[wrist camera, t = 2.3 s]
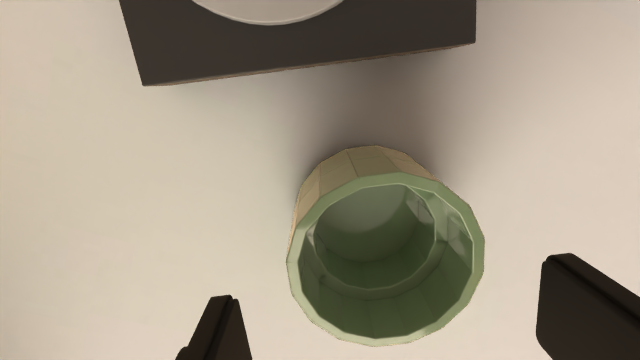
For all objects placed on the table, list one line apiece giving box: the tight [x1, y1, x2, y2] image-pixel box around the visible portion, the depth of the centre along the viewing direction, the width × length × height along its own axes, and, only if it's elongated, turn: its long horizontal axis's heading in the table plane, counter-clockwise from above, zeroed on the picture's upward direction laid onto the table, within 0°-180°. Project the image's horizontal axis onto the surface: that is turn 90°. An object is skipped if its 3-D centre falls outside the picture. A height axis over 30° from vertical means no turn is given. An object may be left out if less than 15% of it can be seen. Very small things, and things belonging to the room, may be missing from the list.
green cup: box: [286, 145, 485, 347], centre depth 14 cm, size 7×7×5 cm
